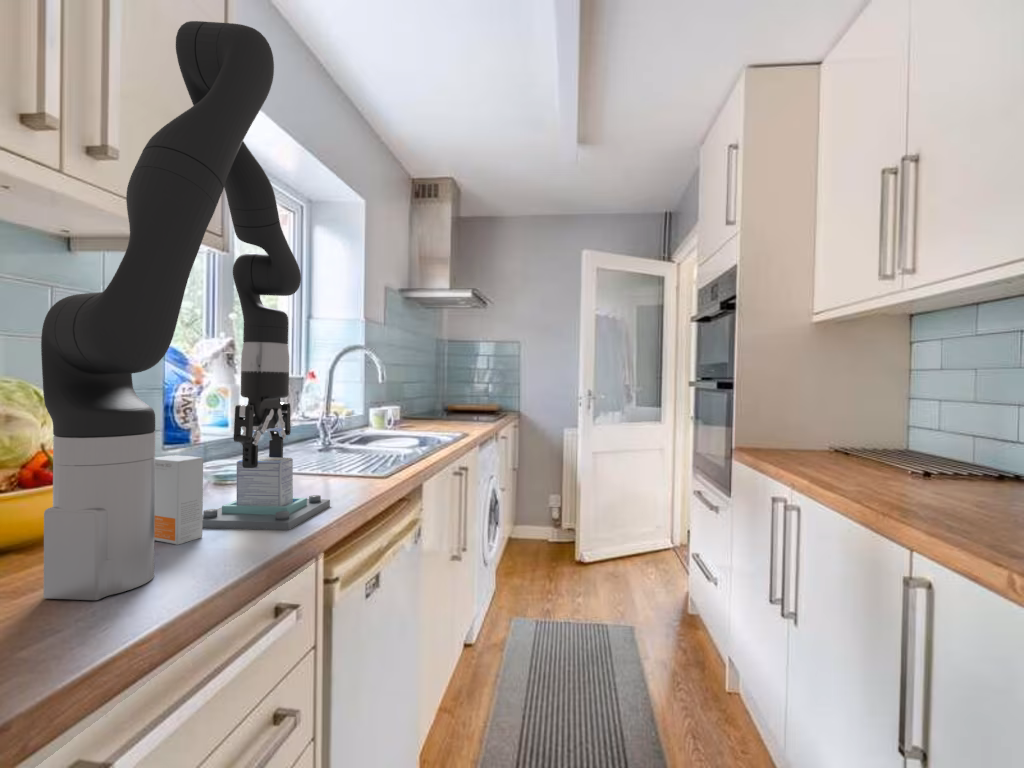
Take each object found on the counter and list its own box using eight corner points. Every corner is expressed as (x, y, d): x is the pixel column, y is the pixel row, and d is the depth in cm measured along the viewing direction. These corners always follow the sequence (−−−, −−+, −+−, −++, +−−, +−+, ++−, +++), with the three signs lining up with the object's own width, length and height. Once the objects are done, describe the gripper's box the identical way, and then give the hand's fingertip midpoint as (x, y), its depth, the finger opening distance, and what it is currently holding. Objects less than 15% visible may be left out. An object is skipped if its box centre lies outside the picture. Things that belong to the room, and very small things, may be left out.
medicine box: (293, 506, 93) (294, 457, 93) (281, 513, 88) (281, 461, 88) (250, 505, 93) (250, 456, 93) (235, 511, 89) (235, 460, 89)
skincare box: (146, 540, 77) (147, 458, 77) (174, 532, 81) (175, 454, 81) (177, 545, 75) (177, 460, 74) (204, 537, 79) (204, 456, 78)
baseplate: (288, 530, 83) (288, 514, 83) (190, 527, 84) (190, 512, 84) (329, 505, 99) (330, 493, 99) (247, 503, 100) (247, 491, 100)
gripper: (265, 368, 84) (263, 471, 84) (305, 371, 98) (303, 459, 98) (219, 368, 84) (217, 470, 84) (265, 371, 98) (264, 458, 98)
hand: (263, 464), depth 91 cm, fingers open, 8 cm apart
